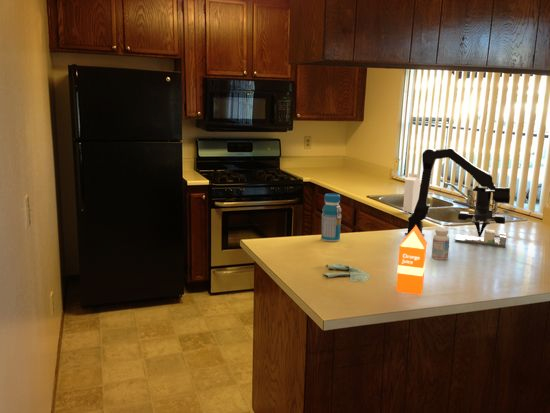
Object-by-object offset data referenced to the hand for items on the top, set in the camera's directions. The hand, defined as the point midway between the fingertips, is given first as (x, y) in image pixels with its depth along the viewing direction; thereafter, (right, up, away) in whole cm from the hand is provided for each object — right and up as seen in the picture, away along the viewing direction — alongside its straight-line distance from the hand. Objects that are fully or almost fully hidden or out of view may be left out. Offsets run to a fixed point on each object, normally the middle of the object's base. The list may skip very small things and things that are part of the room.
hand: (479, 236), depth 216 cm
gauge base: (0, -2, 0) cm, 2 cm away
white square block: (+5, -2, -3) cm, 6 cm away
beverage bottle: (-65, -1, 0) cm, 65 cm away
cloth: (-67, -11, -44) cm, 81 cm away
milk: (-13, +10, +62) cm, 64 cm away
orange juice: (-46, -13, -58) cm, 76 cm away
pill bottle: (-26, -7, -24) cm, 36 cm away
